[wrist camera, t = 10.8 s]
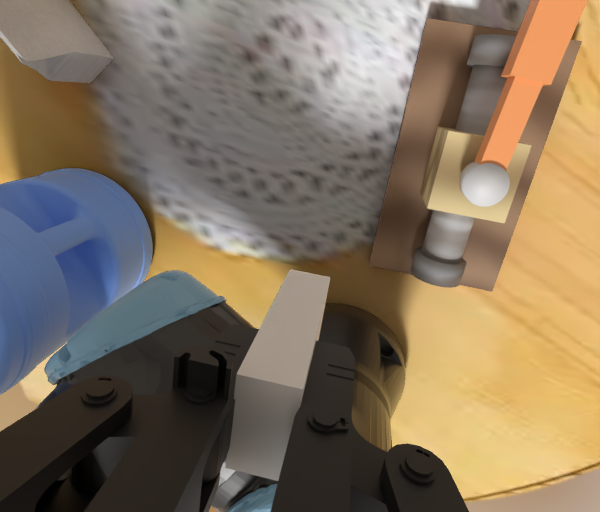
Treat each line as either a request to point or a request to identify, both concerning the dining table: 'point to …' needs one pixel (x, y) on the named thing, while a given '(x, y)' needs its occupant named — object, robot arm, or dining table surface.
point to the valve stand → (457, 159)
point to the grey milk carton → (53, 39)
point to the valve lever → (520, 94)
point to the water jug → (63, 261)
